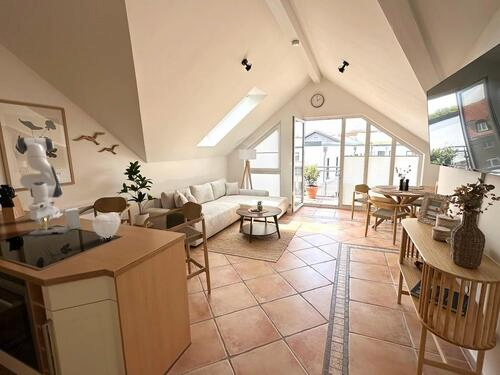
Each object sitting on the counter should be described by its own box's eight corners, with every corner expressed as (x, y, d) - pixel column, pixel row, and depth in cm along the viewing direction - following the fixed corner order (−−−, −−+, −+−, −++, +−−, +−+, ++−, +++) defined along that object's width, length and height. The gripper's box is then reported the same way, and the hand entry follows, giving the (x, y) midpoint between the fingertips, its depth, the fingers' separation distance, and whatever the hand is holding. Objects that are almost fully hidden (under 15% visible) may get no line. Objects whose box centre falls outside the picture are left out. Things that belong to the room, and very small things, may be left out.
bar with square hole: (36, 231, 175) (35, 228, 175) (69, 230, 179) (69, 226, 178) (29, 235, 168) (28, 231, 168) (64, 233, 172) (63, 229, 171)
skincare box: (80, 226, 189) (78, 207, 187) (80, 228, 184) (79, 209, 182) (66, 228, 184) (64, 209, 182) (67, 230, 179) (65, 210, 177)
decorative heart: (114, 233, 172) (112, 210, 170) (125, 235, 168) (123, 211, 166) (89, 242, 156) (87, 216, 154) (100, 244, 152) (98, 218, 149)
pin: (44, 229, 181) (42, 217, 180) (48, 229, 182) (47, 217, 181) (41, 230, 178) (39, 218, 177) (46, 230, 179) (44, 218, 178)
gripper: (46, 201, 187) (48, 219, 189) (26, 207, 167) (29, 226, 169) (55, 201, 188) (57, 218, 190) (37, 206, 168) (39, 226, 170)
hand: (44, 222), depth 179 cm, fingers open, 8 cm apart
